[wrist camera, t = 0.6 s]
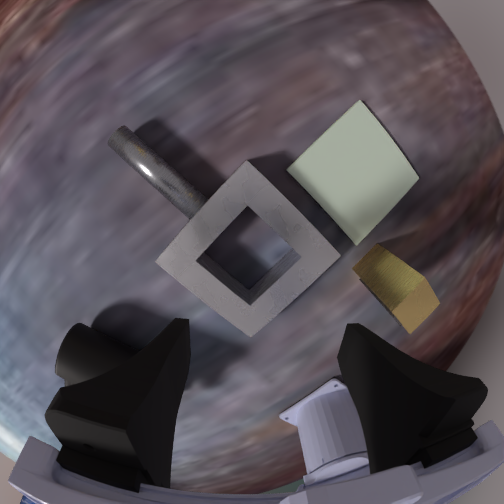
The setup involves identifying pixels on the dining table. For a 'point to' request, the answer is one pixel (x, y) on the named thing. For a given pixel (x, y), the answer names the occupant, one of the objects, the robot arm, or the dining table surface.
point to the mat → (355, 172)
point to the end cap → (89, 354)
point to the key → (397, 287)
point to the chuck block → (215, 222)
